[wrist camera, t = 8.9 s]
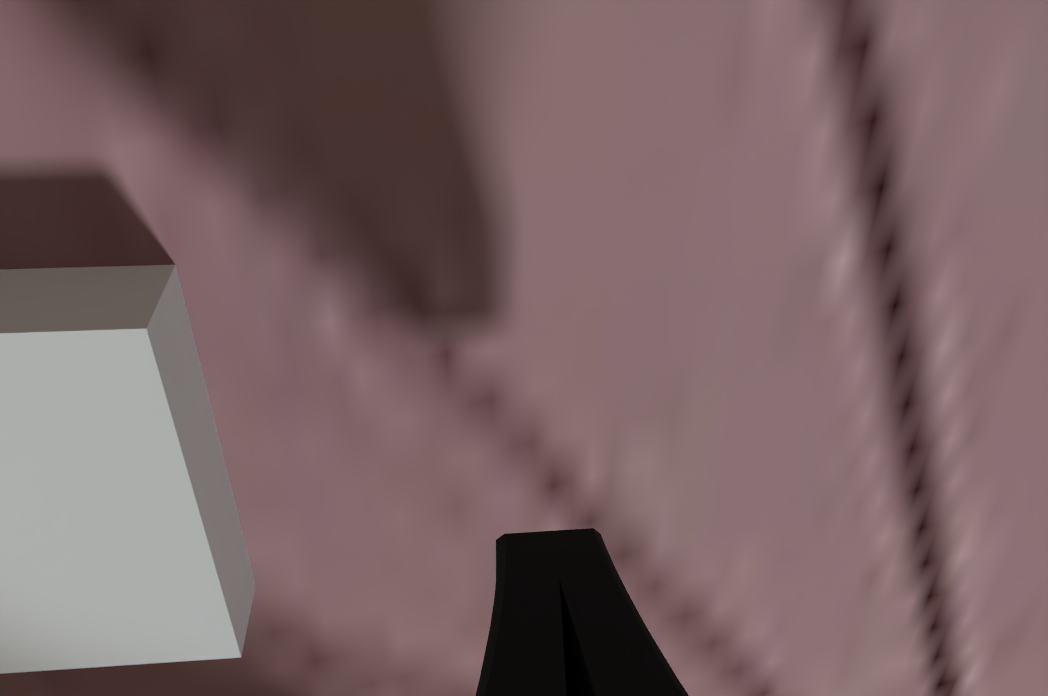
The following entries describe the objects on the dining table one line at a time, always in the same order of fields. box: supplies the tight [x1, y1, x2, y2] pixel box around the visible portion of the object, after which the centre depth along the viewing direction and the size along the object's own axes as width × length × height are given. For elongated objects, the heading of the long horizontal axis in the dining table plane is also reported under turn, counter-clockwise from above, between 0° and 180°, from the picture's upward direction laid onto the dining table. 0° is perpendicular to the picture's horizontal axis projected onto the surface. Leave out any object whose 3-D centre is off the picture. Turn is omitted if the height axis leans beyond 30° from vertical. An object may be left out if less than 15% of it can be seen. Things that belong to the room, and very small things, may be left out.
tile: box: [0, 265, 255, 674], centre depth 13 cm, size 6×7×2 cm
